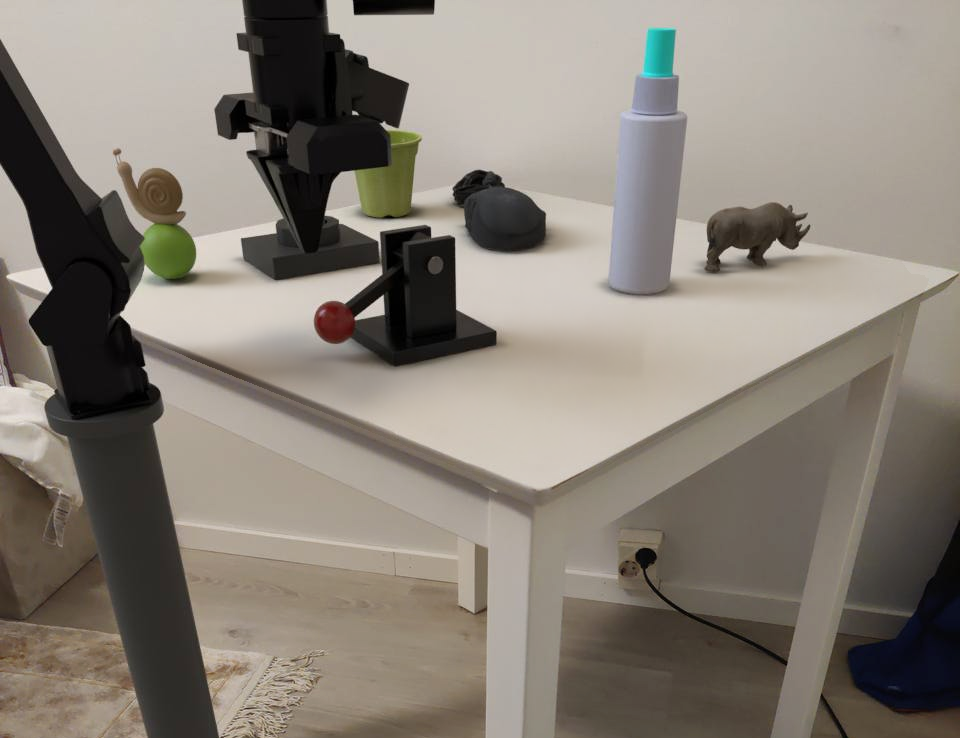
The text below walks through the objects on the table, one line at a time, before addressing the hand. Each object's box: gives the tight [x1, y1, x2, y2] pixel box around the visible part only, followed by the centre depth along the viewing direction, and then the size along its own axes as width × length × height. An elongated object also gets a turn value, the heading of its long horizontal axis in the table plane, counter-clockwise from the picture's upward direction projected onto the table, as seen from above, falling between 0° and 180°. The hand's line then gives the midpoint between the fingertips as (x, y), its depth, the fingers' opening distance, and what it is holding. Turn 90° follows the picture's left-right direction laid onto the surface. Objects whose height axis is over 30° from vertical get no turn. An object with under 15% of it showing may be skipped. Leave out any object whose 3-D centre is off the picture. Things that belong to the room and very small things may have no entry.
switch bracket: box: [350, 224, 498, 367], centre depth 84 cm, size 10×9×9 cm
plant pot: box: [354, 129, 423, 219], centre depth 121 cm, size 9×9×9 cm
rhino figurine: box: [703, 201, 811, 273], centre depth 104 cm, size 4×14×6 cm, turn 114°
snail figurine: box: [112, 147, 197, 280], centre depth 98 cm, size 5×6×12 cm
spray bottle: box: [608, 27, 688, 295], centre depth 92 cm, size 6×6×22 cm
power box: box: [240, 215, 381, 281], centre depth 105 cm, size 12×9×4 cm
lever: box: [313, 232, 432, 345], centre depth 82 cm, size 12×3×3 cm, turn 122°
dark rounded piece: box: [452, 169, 547, 252], centre depth 120 cm, size 10×32×6 cm, turn 8°
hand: (309, 252), depth 77 cm, fingers closed
